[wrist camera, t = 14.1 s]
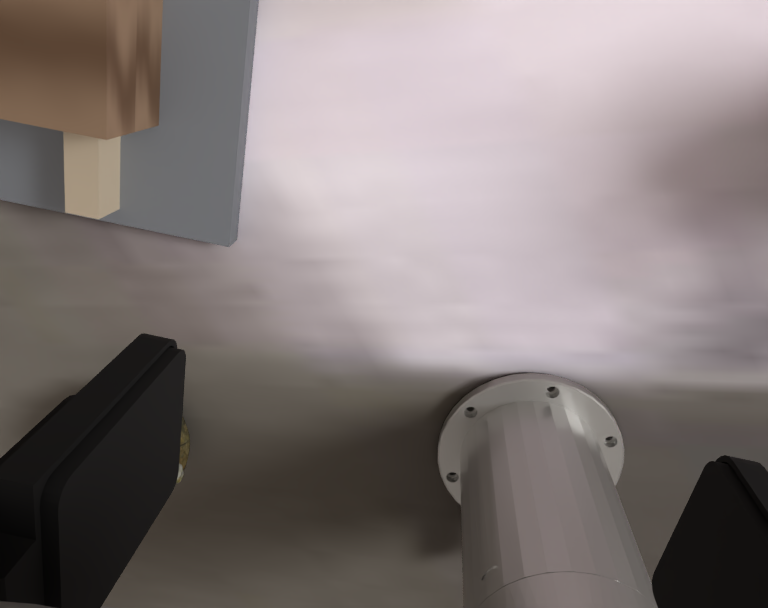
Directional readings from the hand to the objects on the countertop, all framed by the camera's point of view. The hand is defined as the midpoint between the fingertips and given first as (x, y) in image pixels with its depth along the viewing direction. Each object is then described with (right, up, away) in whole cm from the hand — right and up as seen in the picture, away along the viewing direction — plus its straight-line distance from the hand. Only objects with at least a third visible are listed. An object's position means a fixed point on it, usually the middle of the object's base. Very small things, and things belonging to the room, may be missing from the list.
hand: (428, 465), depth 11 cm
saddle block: (-16, +17, +24) cm, 34 cm away
